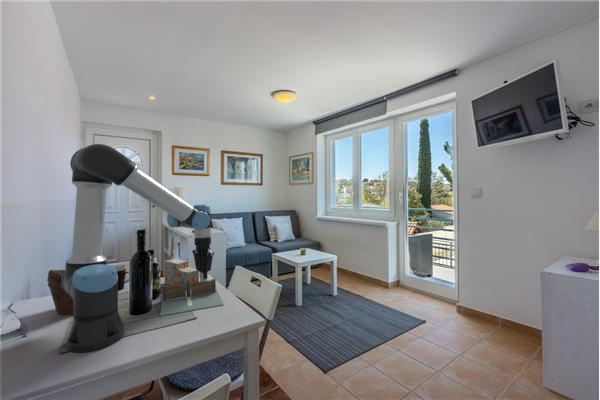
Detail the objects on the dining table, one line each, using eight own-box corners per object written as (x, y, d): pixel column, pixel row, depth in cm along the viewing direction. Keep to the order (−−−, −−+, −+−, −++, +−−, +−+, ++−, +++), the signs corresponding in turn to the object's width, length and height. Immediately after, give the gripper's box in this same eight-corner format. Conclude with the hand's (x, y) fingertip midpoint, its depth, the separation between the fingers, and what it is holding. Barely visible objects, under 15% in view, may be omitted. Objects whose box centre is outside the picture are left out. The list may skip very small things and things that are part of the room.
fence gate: (215, 291, 130) (215, 279, 130) (191, 295, 125) (191, 282, 125) (215, 291, 131) (215, 278, 131) (191, 294, 127) (191, 282, 126)
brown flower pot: (117, 299, 123) (115, 259, 123) (77, 320, 103) (74, 273, 103) (81, 298, 125) (79, 259, 124) (34, 319, 105) (32, 273, 105)
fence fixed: (190, 297, 125) (190, 282, 125) (162, 301, 120) (162, 285, 120) (190, 296, 127) (190, 280, 126) (162, 300, 122) (162, 284, 122)
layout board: (223, 305, 117) (223, 304, 117) (160, 316, 106) (160, 315, 106) (215, 287, 138) (215, 286, 138) (162, 295, 128) (162, 294, 128)
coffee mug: (101, 290, 135) (101, 270, 134) (119, 285, 142) (119, 266, 142) (116, 294, 130) (115, 273, 129) (134, 288, 137) (133, 268, 137)
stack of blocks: (199, 287, 139) (198, 263, 138) (188, 291, 133) (187, 266, 133) (175, 280, 151) (174, 257, 150) (164, 283, 146) (163, 260, 145)
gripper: (218, 236, 132) (219, 285, 133) (199, 234, 139) (200, 280, 139) (205, 239, 126) (206, 289, 126) (187, 236, 132) (188, 285, 133)
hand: (203, 285), depth 133 cm, fingers closed
